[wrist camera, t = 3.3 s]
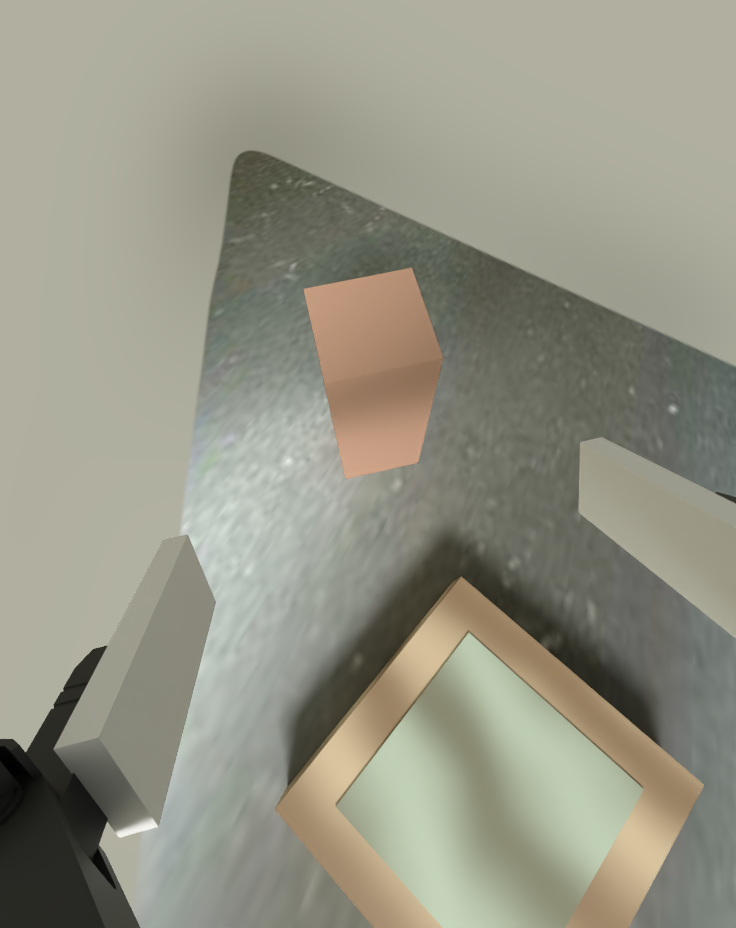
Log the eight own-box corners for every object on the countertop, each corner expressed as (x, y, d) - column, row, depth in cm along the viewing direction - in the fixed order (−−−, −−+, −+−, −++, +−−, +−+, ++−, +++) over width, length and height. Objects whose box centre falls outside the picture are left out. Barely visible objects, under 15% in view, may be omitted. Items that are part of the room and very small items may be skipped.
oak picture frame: (452, 581, 26) (461, 576, 23) (663, 765, 23) (705, 785, 20) (287, 786, 23) (274, 810, 20) (507, 1042, 19) (530, 1116, 16)
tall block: (399, 399, 31) (411, 267, 20) (418, 462, 29) (443, 358, 18) (330, 413, 30) (303, 288, 19) (345, 479, 29) (324, 383, 17)
